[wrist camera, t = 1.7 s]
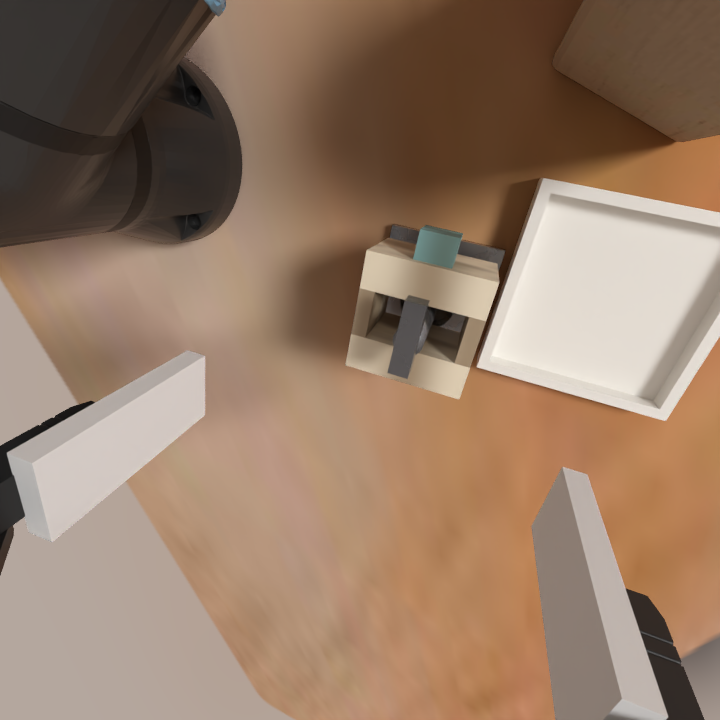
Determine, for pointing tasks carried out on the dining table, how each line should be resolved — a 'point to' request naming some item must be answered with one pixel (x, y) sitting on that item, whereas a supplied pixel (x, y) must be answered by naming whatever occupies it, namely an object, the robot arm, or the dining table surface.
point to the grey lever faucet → (425, 307)
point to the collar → (444, 290)
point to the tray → (608, 298)
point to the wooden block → (650, 61)
